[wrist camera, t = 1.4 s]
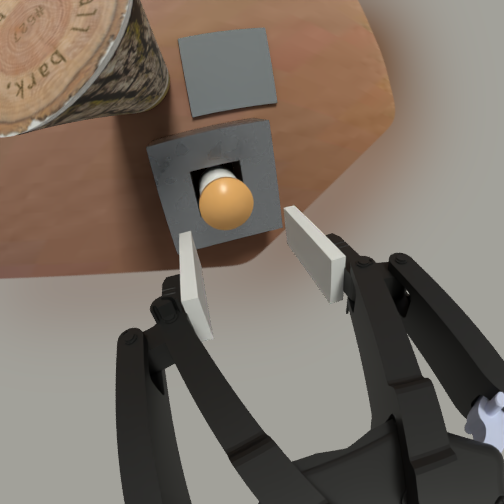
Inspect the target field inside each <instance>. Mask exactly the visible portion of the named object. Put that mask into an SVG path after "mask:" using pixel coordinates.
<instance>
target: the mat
mask: <svg viewBox="0 0 504 504" xmlns="http://www.w3.org/2000/svg"><path fill="white" fill-rule="evenodd" d="M178 43H179V48H180V54H181V60H182V65H183V71H184V76H185V81H186V87H187V92H188V97H189V102H190V107H191V112H192V117H196V116H201V115H205V114H210V113H215V112H220V111H225V110H231V109H237V108H243V107H249V106H256V105H263V104H271V103H277V97H276V90H275V83H274V77H273V71H272V65H271V59H270V53H269V47H268V42H267V36H266V31H265V28H251V29H239V30H229V31H221V32H213V33H207V34H201V35H195V36H189V37H184V38H180V39H178Z"/></svg>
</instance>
